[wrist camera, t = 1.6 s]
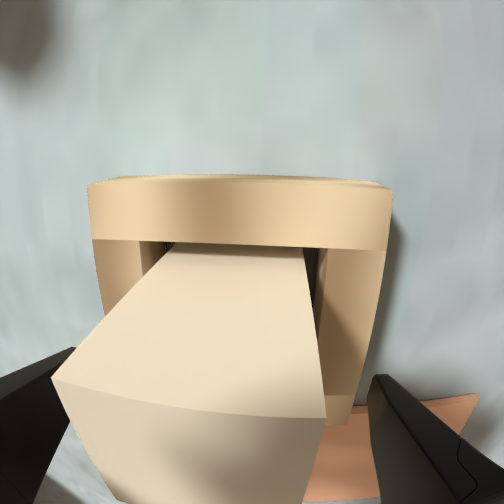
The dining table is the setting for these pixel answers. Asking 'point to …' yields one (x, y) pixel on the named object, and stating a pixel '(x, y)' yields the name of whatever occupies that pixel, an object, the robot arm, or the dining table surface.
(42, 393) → the robot arm
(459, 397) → the terracotta coaster
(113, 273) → the birch pocket holder
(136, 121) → the dining table surface
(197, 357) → the cream block
